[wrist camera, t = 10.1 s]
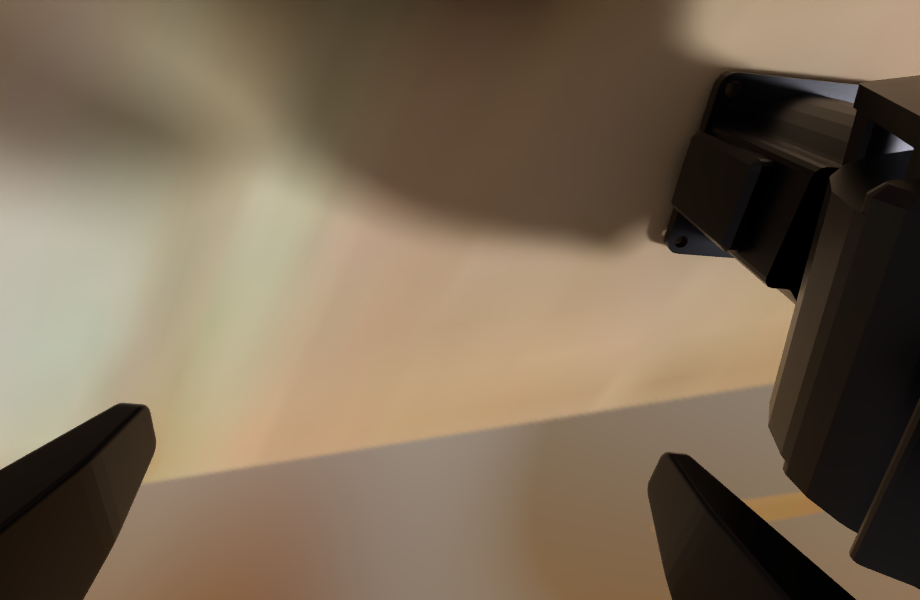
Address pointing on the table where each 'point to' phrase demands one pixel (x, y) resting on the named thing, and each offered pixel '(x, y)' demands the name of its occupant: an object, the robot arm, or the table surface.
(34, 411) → the table surface
